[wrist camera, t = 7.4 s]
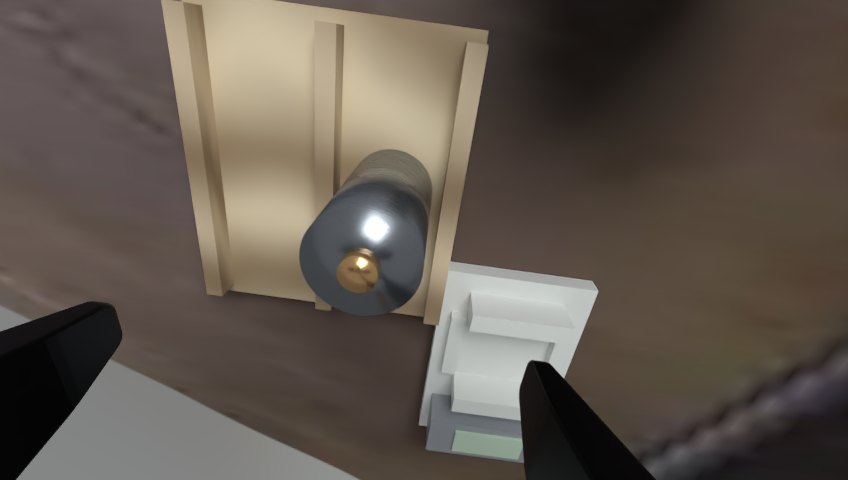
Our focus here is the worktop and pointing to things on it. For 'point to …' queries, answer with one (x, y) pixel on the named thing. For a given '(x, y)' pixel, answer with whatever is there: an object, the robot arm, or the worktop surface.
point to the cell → (371, 236)
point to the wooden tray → (314, 128)
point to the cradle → (496, 354)
